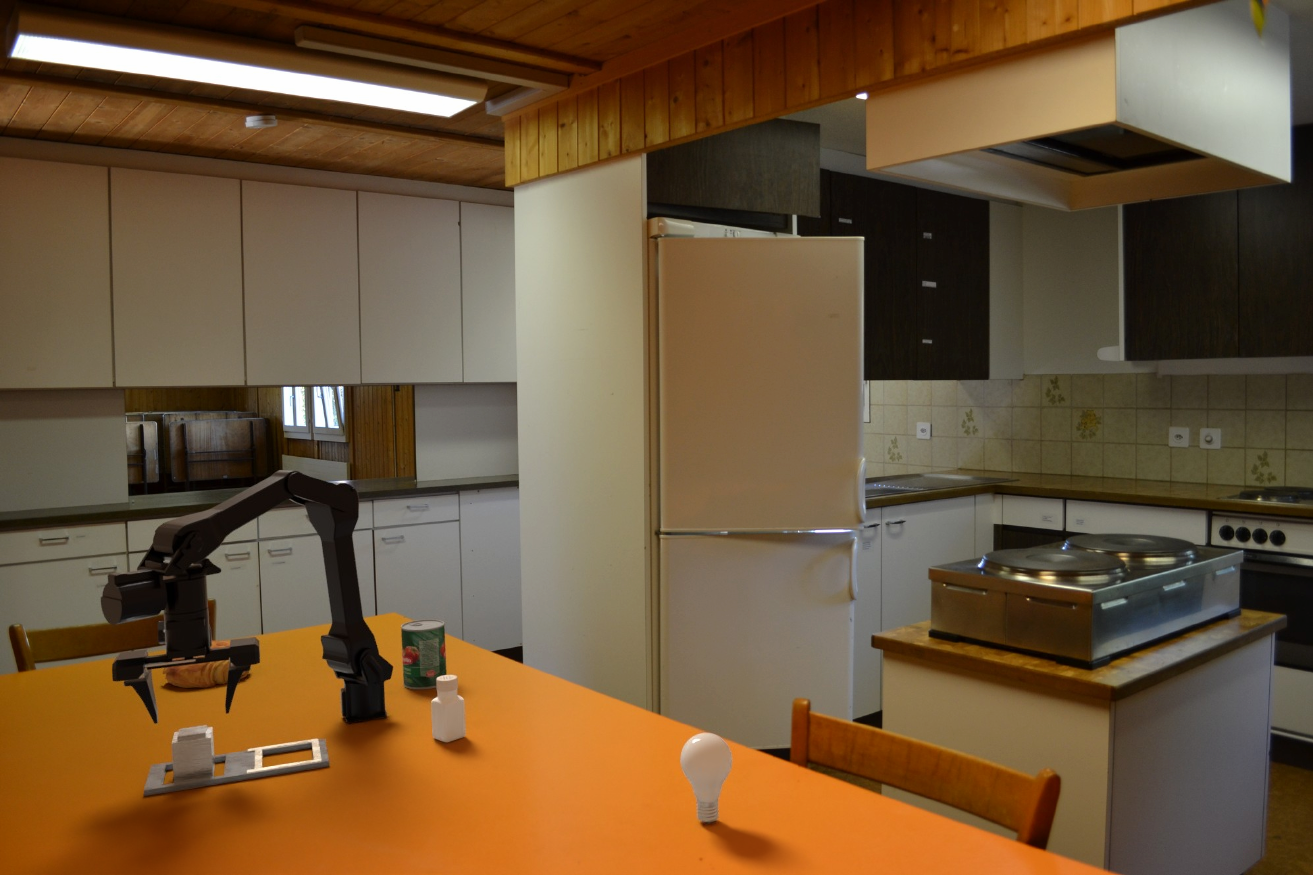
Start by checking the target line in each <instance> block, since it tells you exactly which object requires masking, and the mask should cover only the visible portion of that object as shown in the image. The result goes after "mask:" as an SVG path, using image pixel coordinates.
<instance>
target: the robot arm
mask: <svg viewBox="0 0 1313 875" xmlns="http://www.w3.org/2000/svg"><path fill="white" fill-rule="evenodd" d="M289 500H290V502H291V501H292V502H293V503H296V504H297V505H301V506H304V507H305V510H306V513H307V516H308V520H309V522H310V524H311V525H312V527H313V528H314V530H315V533H317V535H318V536H319V538H320V542H321V550H322V556H323V557H322V558H323V563H324V571H325V577H326V578H325V579H326V585H327V593H328V601H329V607H330V615H331V626H330V628H329V631H328V633H327V634H323V635H321V636H320V642H321V645H322V657H321V658H322V659H321V660H325V661H326V665H327V666H328V667H329V668H330V669H332V670H333V672H334V675H335V677H336V679H338V680H340V679H341V680H343V687H342V688H340V691H339V692H340V710H341V711H340V712H341V716H342V717H343V718H345V721H346V724H350V723H351V724H352V723H357V722H364V721H365V722H366V721H370V720H372V721H373V720H378V719H385V718H387V717H388V713H387V710H386V700H385V699H386V696H385V694H386V692H385V682H386V681H389V680H391V679H392V676H393V671H394V666H393V665H392V664H391V663H390V662H389V661H388V660H386V659H385V658H384V657H383V656H382V655H380V650H379V648H378V644H377V640H376V637H375V634H374V633H373V631H372V629H371V628H370V626H369V625H368V624H367V621H366V620H365V618H364V615H363V605H362V600H361V599H362V598H361V592H360V583H359V577H358V576H359V575H358V569H357V561H356V553H355V545H354V539H353V534H354V531H355V528H356V526H357V524H358V520H359V517H360V516H359V513H360V497H359V492H358V490H357V489H356V488H355V487H354V486H352V485H351V484H350V483H347V482H334V481H326V480H322V479H320V478H316V477H313V476H310V475H307V474H305V473H302V472H300V471H298V470H288V469H287V470H285V469H279V470H277V471H276V472H274V473H273V474H271V476H269V477H267V478H265V479H264V480H261V481H259V482H258V483H257V484H254V485H252V486H251V487H247V489H245V490H243V491H241V492H240V493H237V494H235V495H234V496H232V497H230V498H228V499H226V500H224V501H223V502H221V503H219V504H217V505H215V506H213V507H212V508H209V509H207V510H203V511H199V512H195V513H190V514H187V515H182V516H180V517H177V518H174V519H171V520H168V521H166V522H162V523H161V524H160V525H159V526H158V527H157V528H156V529H155V530H154V535H153V537H152V544H151V545H150V547H149V548H148V549H147V551H146V553H145V555H144V556H143V558H142V559H141V560H140V563H139V564H138V566H137V568H136V570H133V571H127V572H113V573H108V574H107V583H106V584H105V585H104V587H103V589H102V593H101V594H102V595H101V596H100V607H101V611H102V614H103V617H104V618H105V619H104V620H106V622H107V623H108V624H110V625H111V626H115V625H120V624H125V623H130V622H135V621H139V620H140V621H141V620H143V619H149V618H153V617H158V616H159V615H160V613H161V612H162V611H163V620H161V621H160V620H159V621H157V642H158V644H159V645H165V653H163V654H155V655H149V652H148V649H146V648H145V649H139V650H138V649H137V650H129V651H123V652H120V653H119V654H118V655H117V656H116V657H115V659H114V661H113V662H112V664H111V673H112V674H111V676H112V682H123V686H124V687H132V688H133V690H134V691H135V692H136V694H137V695H138V697H139V698H140V699H141V701H142V703H143V704H144V707H145V708H146V710H147V712H148V714H149V716H150V718H151V719H152V722H153V724H158V723H159V709H158V705H157V698H156V694H155V690H154V683H153V673H152V670H156V669H157V670H158V669H164V668H166V667H175V666H183V665H191V664H199V663H208V662H216V661H224V660H229V669H228V679H227V683H226V691H225V692H226V694H225V701H224V702H225V703H224V706H225V715H227V714H229V713H230V710H231V706H232V703H233V699H234V696H235V693H236V689H237V687H238V684H239V682H240V680H241V679H240V678H241V676H242V673H243V672H245V671H249V670H250V671H251V669H252V668H251V667H252V666H253V665H258V664H260V663H261V649H260V648H261V647H260V640H259V639H258V638H257V637H256V636H254V637H252V636H251V637H243V638H236V639H230V641H229V642H230V647H221V648H213V649H210V646H212V640H213V639H212V628H211V626H210V616H209V613H210V612H209V602H208V601H209V600H208V582H207V580H208V579H207V576H211V575H212V576H213V575H216V574H220V573H221V572H222V569H221V567H219V566H217V565H216V564H214V563H213V562H212V561H211V559H210V558H208V557H209V556H210V555H211V554H212V553H214V552H215V551H216V550H218V549H219V548H220V547H221V545H222V544H223V542H224V541H225V539H226V538H227V537H228V536H229V535H230V534H232V533H234V531H237V530H238V529H240V528H242V527H244V526H245V525H246V524H248V523H250V522H252V521H254V520H256V519H258V518H259V517H260V516H262V515H264V514H267V513H268V512H270V511H272V510H273V509H275V508H276V507H278V506H280V505H281V504H284V503H286V502H287V501H289ZM166 561H167V562H166ZM168 561H169V562H168ZM196 656H197V657H198V656H205V657H199V658H196ZM194 657H195V658H194ZM176 658H182V660H181V659H179V660H173V659H176ZM183 658H184V659H183ZM250 671H249V672H250Z"/></svg>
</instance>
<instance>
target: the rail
mask: <svg viewBox="0 0 1313 875" xmlns="http://www.w3.org/2000/svg"><path fill="white" fill-rule="evenodd" d="M326 742H327V741H326V738H321V739H319V738H312V739H305V740H299V741H291V742H285V743H278V744H273V745H266V746H265V745H264V746H259V747H254V748H253V747H252V748H248V749H247V750H242V751H241V750H240V751H235V752H228V753H222V754H214V762H215V764H216V763H223V762H225V763H224V770H223V771H224V772H223V775H217V776H214V777H209V778H203V779H197V780H190V781H184V782H178V783H174V782H173V783H166V784H164V780H165V776H166V773H167V771H171V770H172V771H173V761H170V762H169V761H168V762H161V763H155V764H151V765H150V769H149V771H148V774H147V778H146V781H145V785H144V787H143V788H144V789H143V797H147V796H153V795H159V794H167V793H173V792H178V791H180V792H181V791H184V790H191V789H198V788H203V787H210V786H214V785H215V786H216V785H222V784H227V783H236V782H240V781H247V780H252V779H258V778H265V777H266V778H267V777H271V776H278V775H279V776H280V775H285V774H289V773H290V774H291V773H296V772H297V773H298V772H304V771H308V770H314V769H321V768H327V767H330V759H329V754H328V748H327V743H326ZM308 749H309V750H310V749H311V752H312V759H309V760H302V761H296V762H289V763H284V764H283V763H282V764H277V765H272V766H265V767H263V757H264V756H269V755H274V754H275V755H276V754H281V753H282V754H283V753H287V752H295V751H301V750H308Z"/></svg>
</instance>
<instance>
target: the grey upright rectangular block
mask: <svg viewBox="0 0 1313 875" xmlns="http://www.w3.org/2000/svg"><path fill="white" fill-rule="evenodd" d="M214 755H215V745H214V728H213V726H208V725H207V724H204V725H197V726H190V727H183V728H179V729H178V731H174V733H173V738H172V741H171V757H172V762H173V769H172V773H173V774H172V776H173V783H178V782H184V781H190V780H197V779H203V778H209V777H215V776H214V774H215V768H216V767H215V766H216V763H215V762H214Z"/></svg>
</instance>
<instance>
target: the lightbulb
mask: <svg viewBox="0 0 1313 875" xmlns="http://www.w3.org/2000/svg"><path fill="white" fill-rule="evenodd" d="M679 760H680V766H681V770H682V773H683V774H684V776H685V778H686V779H687V781H688V782H689V784H690V785H691V786H692V791H693V795H694V797H695V799H696V818H697V820H698V821H700V822H702V823H704V824H712V823H714V822H715V821H717V820H718V819H719V812H720V811H719V810H720V809H719V808H720V807H719V798H720V796H721V794H722V792H721V791H722V787H723V785H724V782H725V781H726V780H727V778H728V776H729V775H730V773H731V770H732V767H733V755H732V751H731V749H730V746H729V744H728V743H727V742H726V741H725V740H724V739H723V738H722V737H721V736H719V735H718V734H715V733H712V732H702V733H696V734H695V735H693V736H691V737H690V738H688V740H687V741H686V742H685V743H684V745H683V747H682V750H681V753H680V759H679Z"/></svg>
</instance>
